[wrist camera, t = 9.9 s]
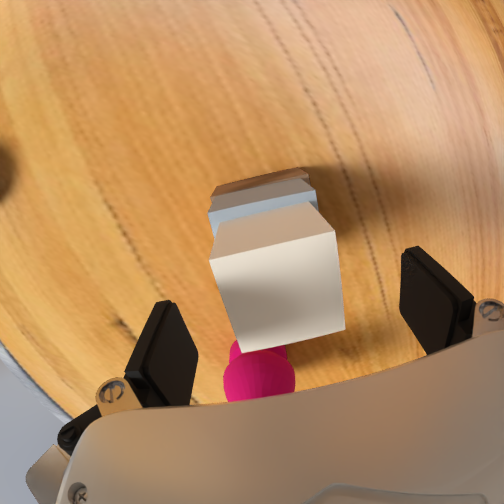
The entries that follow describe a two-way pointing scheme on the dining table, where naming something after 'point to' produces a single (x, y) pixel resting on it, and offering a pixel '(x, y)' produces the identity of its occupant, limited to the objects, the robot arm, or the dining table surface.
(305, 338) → the cream block
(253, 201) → the slate block
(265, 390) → the pepper mill
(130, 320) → the dining table surface
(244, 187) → the walnut block
